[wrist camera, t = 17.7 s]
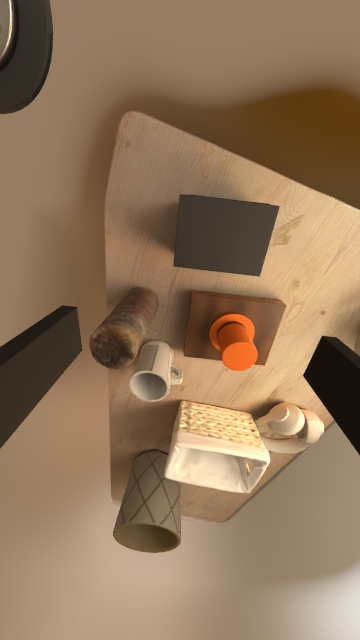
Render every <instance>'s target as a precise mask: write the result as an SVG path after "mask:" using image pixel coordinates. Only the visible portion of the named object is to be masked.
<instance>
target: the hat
mask: <svg viewBox="0 0 360 640" xmlns="http://www.w3.org/2000/svg"><path fill="white" fill-rule="evenodd" d="M254 332H255V331H254V326H253V324H252V322H251V321H250V320H249V319H248V318H247V317H246V316H244V315H242V314H238V313H229V314H225V315H222V316H220V317H219V318H217V319H216V320H215V321H214V322H213V324H212V325H211V327H210V331H209V337H210V341H211V343H212V344H213V346H214V347H215V348H217V349H218V350H220V352H221V356H222V361H223V363H224V365H225V366H226V367H228V368H229V369H232V370H236V371H241V370H245V369H248V368H250V367H251V366H252V365H253V364H254V363H255V362H256V360H257V357H258V353H257V350H256V348H255V346H254V344H253V342H252V340H253V337H254Z"/></svg>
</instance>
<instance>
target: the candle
mask: <svg viewBox="0 0 360 640" xmlns="http://www.w3.org/2000/svg"><path fill="white" fill-rule="evenodd" d="M158 306H159V303H158V298H157V296H156V294H155V293H154V292H153V291H151V290H149V289H146V288H134V289H133V290H131V291H130V292H129V293H128V294H127V295H126V296H125V297H124V299H123V300H122V301H121V302H120V303H119V304H118V305H117V307H116V308H115V309H114V310H113V311H112V312H111V314H110V315H109V316H108V317H107V318H106V319H105V320H104V321H103V323H102V324H101V325H100V326H99V327H98V328H97V329H96V330H95V331H94V332H93V334H92V335H91V338H90V349H91V352H92V355H93V357H94V358H95V360H96V361H97V362H99V363H100V364H102V365H103V366H106V367H107V368H111V369H119V368H124V367H126V366H128V365H129V364H130V363H132V361H133V360H134V359H135V357H136V355H137V353H138V350H139V348H140V346H141V344H142V342H143V339H144V337H145V335H146V333H147V330H148V328H149V326H150V324H151V322H152V320H153V317H154V315H155V313H156V311H157V309H158Z"/></svg>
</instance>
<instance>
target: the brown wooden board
mask: <svg viewBox="0 0 360 640" xmlns="http://www.w3.org/2000/svg"><path fill="white" fill-rule="evenodd" d="M285 308H286V305H285V304H284V303H283V302H282V301H281V300H273V299H264V298H256V297H247V296H239V295H230V294H222V293H213V292H204V291H196V290H192V295H191V302H190V310H189V317H188V324H187V331H186V339H185V346H184V356H187V357H195V358H204V359H212V360H221V361H222V356H221V352H220V350H218V349H217V348H215V347H214V346H213V344H212V343H211V341H210V337H209V331H210V327H211V325H212V324H213V322H214V321H215V320H216V319H217V318H219V317H220V316H222V315H225V314H229V313H238V314H242V315H244V316H246V317H247V318H248V319H249V320H250V321H251V322H252V324H253V326H254V331H255V332H254V337H253V340H252V342H253V344H254V346H255V348H256V350H257V353H258V357H257V360H256V362H255V363H254V364H255V365H264V366H265V363H266V361H267V358H268V355H269V352H270V349H271V347H272V344H273V341H274V338H275V336H276V333H277V330H278V327H279V325H280V322H281V319H282V316H283V313H284V311H285Z"/></svg>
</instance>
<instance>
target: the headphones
mask: <svg viewBox="0 0 360 640" xmlns="http://www.w3.org/2000/svg"><path fill="white" fill-rule="evenodd" d="M266 422H268V425H269V427H270V428H271V429H272V430H273V431H274V432H276V433H277V434H279V435H283V436H289V435H293V434H295V433H296V434H297V436H298V438H291V439H284V440H281V439H269V438H265V437H263V436H261V435H260V438H261V440H262V442H263V444H264V446H265V449H267V450H268V451H269V452H273V453H280V454H294V453H298V452H301V451H303V450H305V448H307V447H308V446H309V445H311V444H312V443H314V442H317V441H318V439H319V437H320V435H322V434H323V432H324V425H323V422H322V420H321V419H320V418H318V417H317V415H316V414H315V412H313V411H312V410H302V409H301V410H300V409H299V408H298V407H296V406H295V405H294V404H291V403H280V404H277V405H276V406H274V407H273V408H272V409H271V410H270V411H269V413H268V415H266V416H263V417H261V418H259V419H257V420H256V421H255V422H254V423H255V425H256V427H257V428H258V427H259V426H260V425H261V424H264V423H266ZM256 438H257V437H256Z"/></svg>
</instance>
